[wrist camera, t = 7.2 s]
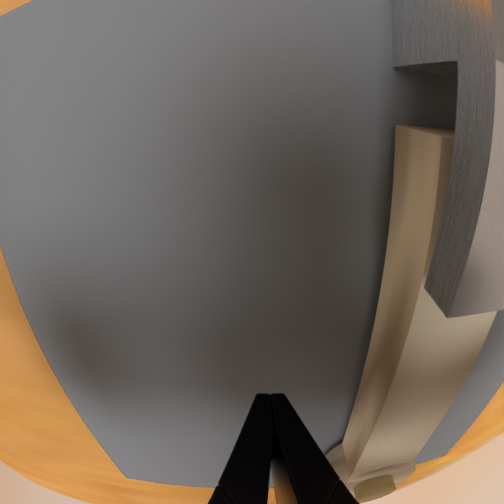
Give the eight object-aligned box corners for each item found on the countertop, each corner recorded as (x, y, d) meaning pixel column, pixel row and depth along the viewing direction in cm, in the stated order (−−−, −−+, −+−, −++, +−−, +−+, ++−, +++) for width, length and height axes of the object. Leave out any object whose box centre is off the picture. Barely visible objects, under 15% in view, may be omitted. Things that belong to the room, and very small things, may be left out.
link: (391, 456, 14) (402, 496, 12) (319, 471, 14) (325, 514, 12) (497, 136, 7) (570, 163, 4) (365, 122, 7) (429, 140, 4)
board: (443, 449, 16) (445, 455, 16) (127, 471, 16) (126, 477, 16) (583, 81, 5) (591, 83, 5) (-12, 29, 5) (-22, 29, 5)
